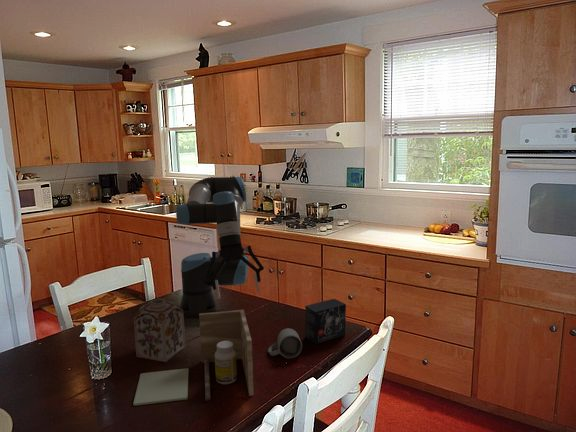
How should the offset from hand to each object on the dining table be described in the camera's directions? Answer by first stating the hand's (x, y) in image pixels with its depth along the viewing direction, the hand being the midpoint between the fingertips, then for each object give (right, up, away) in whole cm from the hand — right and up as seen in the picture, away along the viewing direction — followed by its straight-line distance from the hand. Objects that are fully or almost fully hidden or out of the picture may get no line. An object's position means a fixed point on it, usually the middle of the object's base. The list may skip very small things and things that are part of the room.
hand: (238, 295), depth 157 cm
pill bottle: (-1, -20, -24) cm, 32 cm away
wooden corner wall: (-1, -20, -23) cm, 31 cm away
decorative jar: (-25, -18, -7) cm, 31 cm away
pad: (-19, -21, -28) cm, 40 cm away
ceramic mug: (+16, -18, -9) cm, 26 cm away
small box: (+30, -15, +3) cm, 34 cm away
